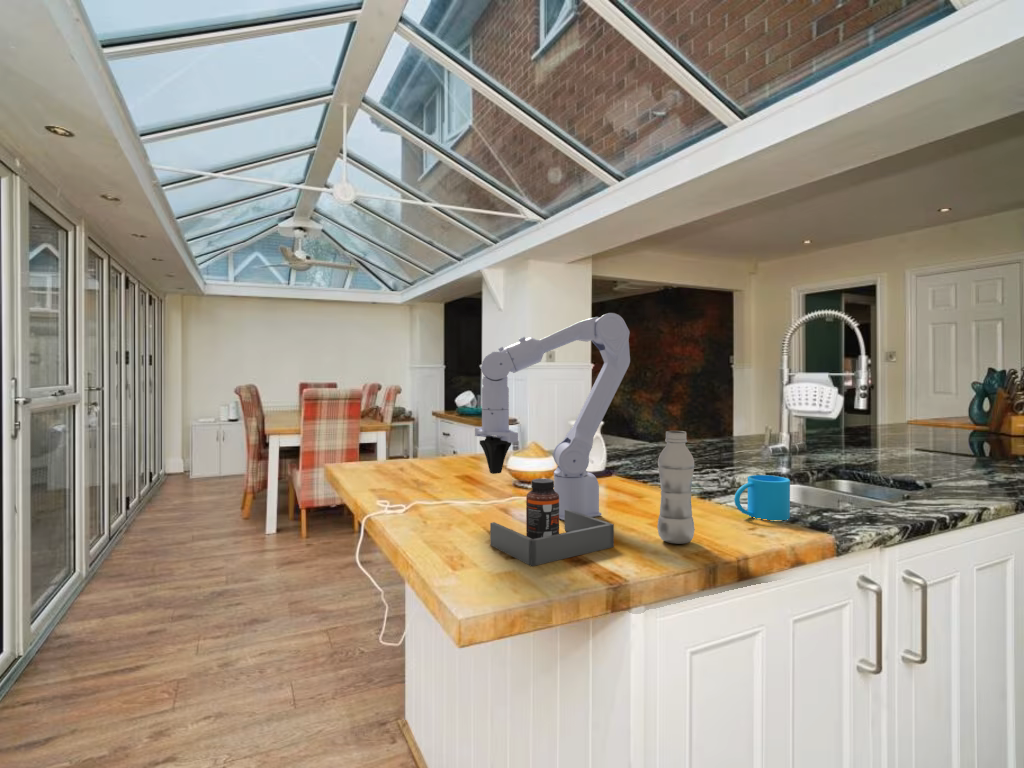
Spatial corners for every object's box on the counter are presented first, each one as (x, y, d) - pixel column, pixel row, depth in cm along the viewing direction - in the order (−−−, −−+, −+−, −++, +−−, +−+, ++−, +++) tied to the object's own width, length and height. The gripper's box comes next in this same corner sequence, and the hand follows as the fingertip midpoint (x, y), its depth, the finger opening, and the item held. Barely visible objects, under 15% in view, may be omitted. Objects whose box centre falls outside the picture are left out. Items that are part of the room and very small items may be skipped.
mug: (772, 511, 121) (772, 474, 121) (798, 520, 113) (799, 481, 113) (723, 513, 119) (723, 476, 118) (746, 523, 111) (746, 483, 110)
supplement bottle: (557, 548, 95) (556, 484, 95) (523, 546, 96) (523, 482, 96) (561, 538, 101) (560, 477, 100) (529, 536, 102) (529, 476, 102)
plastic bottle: (694, 538, 100) (695, 430, 100) (694, 549, 94) (694, 434, 94) (658, 535, 103) (658, 429, 102) (655, 546, 96) (656, 433, 96)
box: (567, 529, 106) (567, 509, 106) (613, 546, 96) (613, 524, 96) (490, 545, 97) (490, 522, 97) (531, 566, 86) (531, 541, 86)
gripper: (462, 408, 120) (463, 469, 120) (497, 411, 108) (497, 480, 108) (490, 407, 124) (490, 466, 124) (526, 410, 111) (526, 476, 112)
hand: (495, 473), depth 116 cm, fingers closed
